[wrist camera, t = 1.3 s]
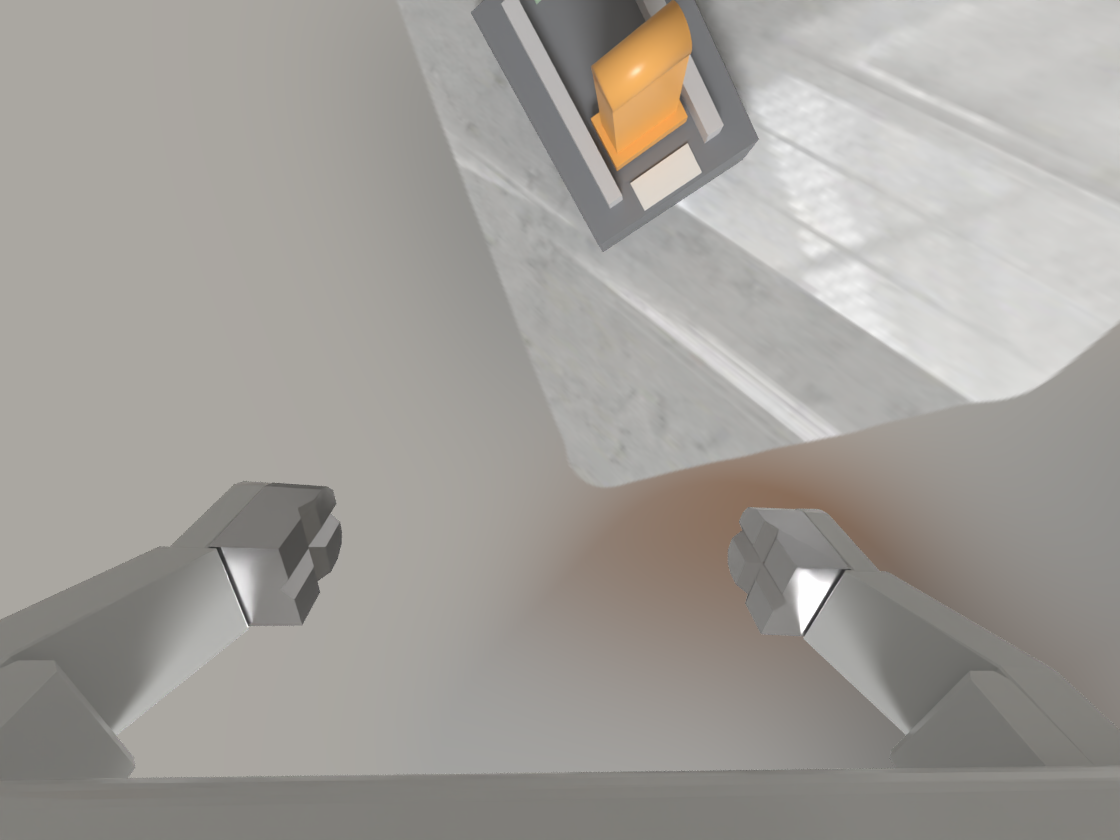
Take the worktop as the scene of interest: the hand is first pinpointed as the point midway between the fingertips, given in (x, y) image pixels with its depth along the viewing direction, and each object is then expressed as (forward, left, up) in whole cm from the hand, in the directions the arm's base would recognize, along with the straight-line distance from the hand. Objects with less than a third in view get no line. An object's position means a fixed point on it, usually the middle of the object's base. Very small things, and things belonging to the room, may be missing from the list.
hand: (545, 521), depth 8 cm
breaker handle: (-17, -5, -31) cm, 35 cm away
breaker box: (-19, -8, -36) cm, 42 cm away
